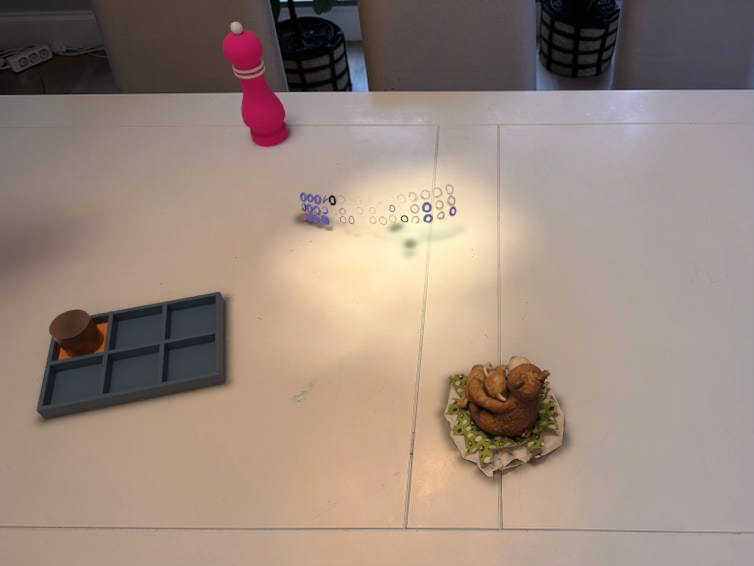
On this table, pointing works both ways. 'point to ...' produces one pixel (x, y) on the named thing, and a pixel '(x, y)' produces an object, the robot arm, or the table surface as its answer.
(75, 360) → the grid
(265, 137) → the pepper mill
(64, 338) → the brown cylinder
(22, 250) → the table surface
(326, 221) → the ring set
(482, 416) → the bear figurine
